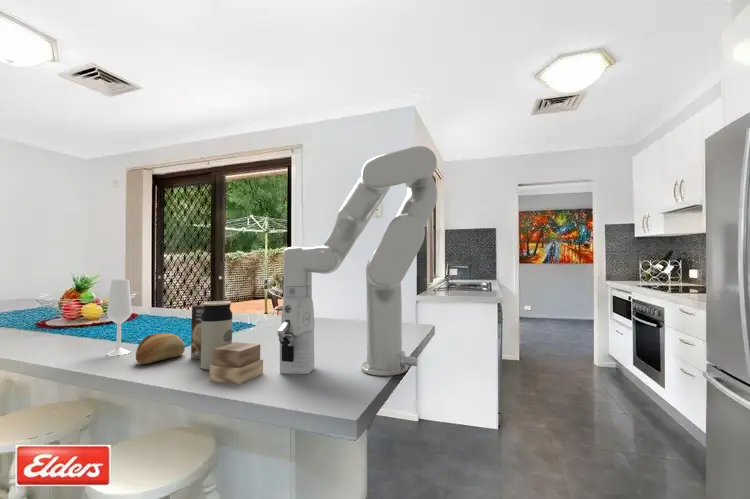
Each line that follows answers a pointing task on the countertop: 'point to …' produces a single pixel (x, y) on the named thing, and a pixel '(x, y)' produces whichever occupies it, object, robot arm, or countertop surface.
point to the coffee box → (196, 331)
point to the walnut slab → (236, 354)
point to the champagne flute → (119, 310)
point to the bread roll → (159, 348)
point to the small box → (300, 355)
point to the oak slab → (236, 373)
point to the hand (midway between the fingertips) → (297, 356)
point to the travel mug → (215, 329)
